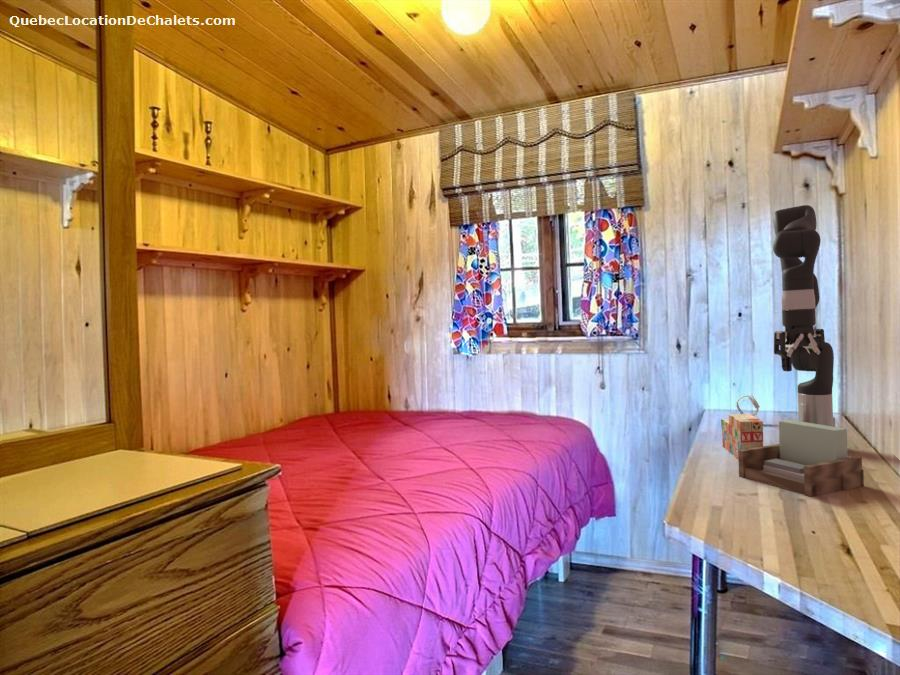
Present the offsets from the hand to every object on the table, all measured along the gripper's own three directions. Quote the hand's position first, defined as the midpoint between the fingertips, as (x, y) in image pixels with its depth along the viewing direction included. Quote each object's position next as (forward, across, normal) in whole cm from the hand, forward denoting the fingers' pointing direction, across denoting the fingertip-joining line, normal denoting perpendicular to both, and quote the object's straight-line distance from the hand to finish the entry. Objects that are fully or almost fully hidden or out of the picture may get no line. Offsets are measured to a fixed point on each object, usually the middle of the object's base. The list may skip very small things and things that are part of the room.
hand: (800, 369), depth 155 cm
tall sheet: (+28, -1, +2) cm, 28 cm away
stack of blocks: (+28, -5, -28) cm, 40 cm away
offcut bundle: (+28, +7, +2) cm, 29 cm away
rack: (+28, +4, +2) cm, 29 cm away
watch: (+28, -41, -64) cm, 81 cm away
